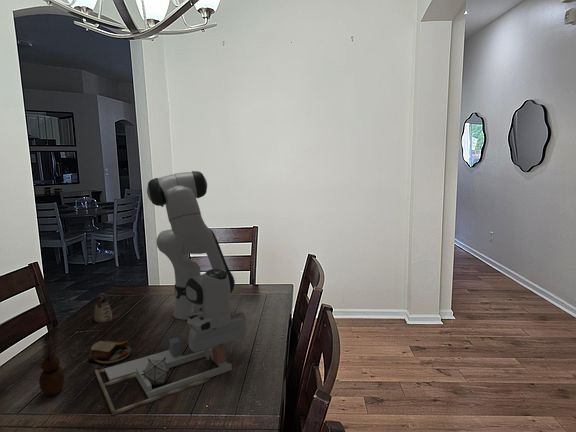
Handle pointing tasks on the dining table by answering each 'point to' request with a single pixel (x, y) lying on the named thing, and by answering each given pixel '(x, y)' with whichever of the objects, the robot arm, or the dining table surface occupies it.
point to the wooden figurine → (51, 375)
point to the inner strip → (144, 361)
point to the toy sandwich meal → (109, 352)
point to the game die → (156, 371)
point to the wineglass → (192, 317)
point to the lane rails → (140, 401)
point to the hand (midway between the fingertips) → (218, 355)
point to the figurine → (102, 309)
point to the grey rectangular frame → (217, 357)
